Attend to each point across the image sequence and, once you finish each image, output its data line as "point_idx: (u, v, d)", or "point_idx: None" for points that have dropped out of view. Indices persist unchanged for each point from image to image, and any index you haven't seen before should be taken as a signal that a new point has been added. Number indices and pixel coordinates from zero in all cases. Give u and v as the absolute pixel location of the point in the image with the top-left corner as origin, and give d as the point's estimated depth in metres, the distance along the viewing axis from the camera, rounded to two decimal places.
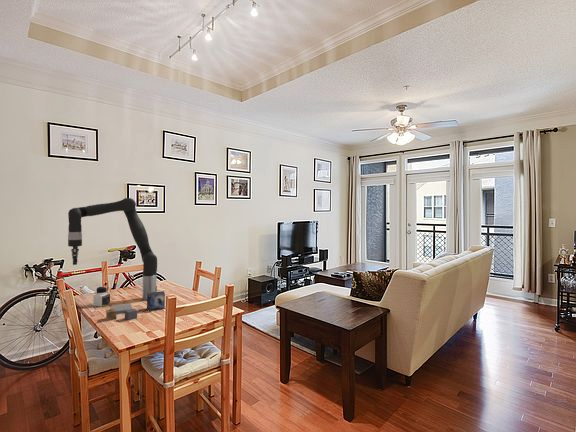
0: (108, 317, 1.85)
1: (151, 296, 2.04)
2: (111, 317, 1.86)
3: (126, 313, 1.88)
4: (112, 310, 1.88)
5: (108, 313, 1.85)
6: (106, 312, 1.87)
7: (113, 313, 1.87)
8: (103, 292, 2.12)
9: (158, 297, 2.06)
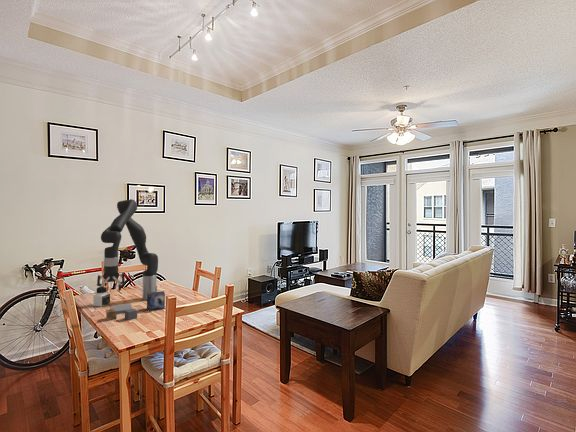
0: (108, 317, 1.85)
1: (151, 296, 2.04)
2: (111, 317, 1.86)
3: (126, 313, 1.88)
4: (112, 310, 1.88)
5: (108, 313, 1.85)
6: (106, 312, 1.87)
7: (113, 313, 1.87)
8: None
9: (158, 297, 2.06)
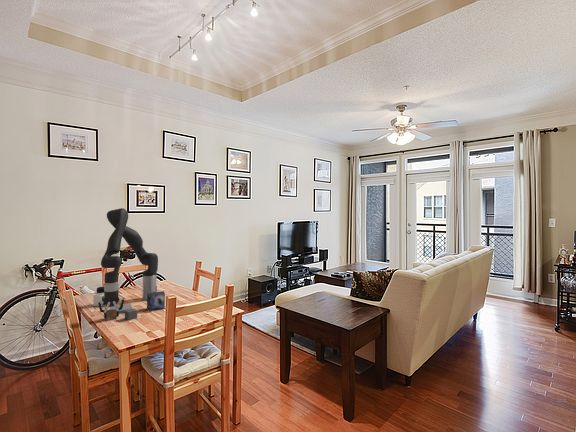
0: (108, 317, 1.85)
1: (151, 296, 2.04)
2: (111, 317, 1.86)
3: (126, 313, 1.88)
4: (112, 310, 1.88)
5: (108, 313, 1.85)
6: None
7: (113, 313, 1.87)
8: (103, 292, 2.12)
9: (158, 297, 2.06)
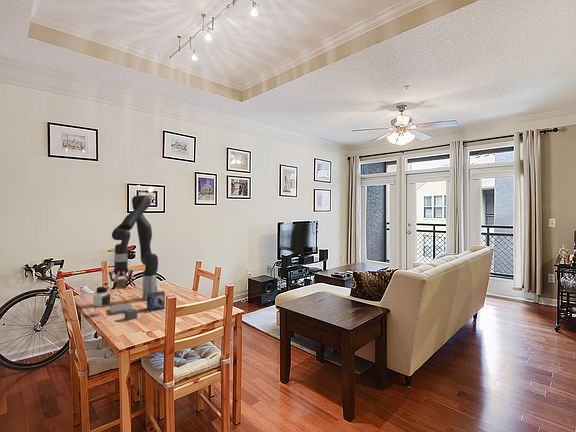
0: (118, 285, 1.99)
1: (151, 296, 2.04)
2: (120, 286, 2.00)
3: (126, 313, 1.88)
4: (121, 279, 2.02)
5: (118, 282, 1.99)
6: (116, 281, 2.01)
7: (122, 282, 2.00)
8: (103, 292, 2.12)
9: (158, 297, 2.06)
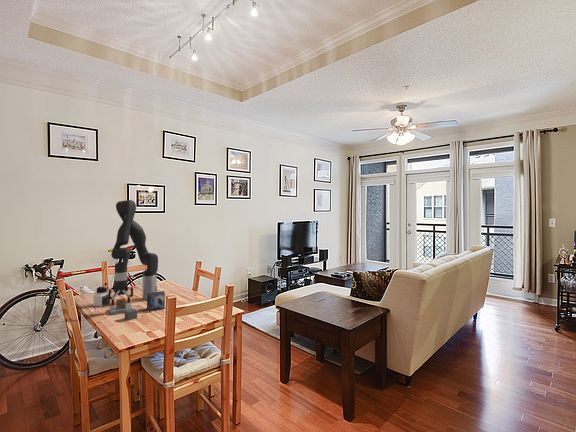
0: (118, 306, 1.99)
1: (151, 296, 2.04)
2: (120, 306, 2.00)
3: (126, 313, 1.88)
4: (122, 299, 2.03)
5: (118, 302, 1.99)
6: (116, 301, 2.02)
7: (122, 302, 2.01)
8: (103, 292, 2.12)
9: (158, 297, 2.06)
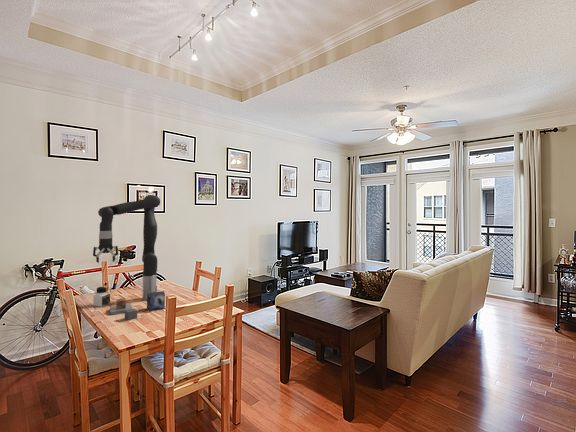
0: (118, 306, 1.99)
1: (151, 296, 2.04)
2: (120, 306, 2.00)
3: (126, 313, 1.88)
4: (122, 299, 2.03)
5: (118, 302, 1.99)
6: (116, 301, 2.02)
7: (122, 302, 2.01)
8: (103, 292, 2.12)
9: (158, 297, 2.06)
